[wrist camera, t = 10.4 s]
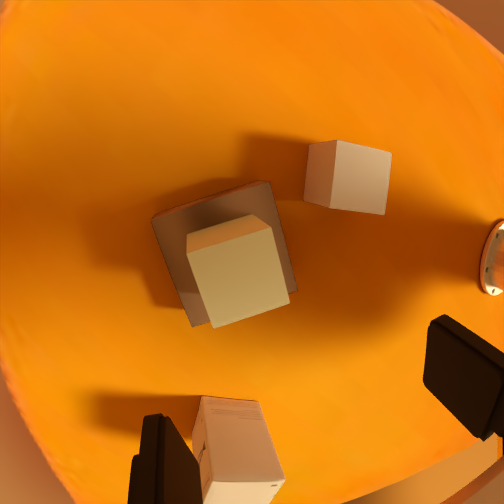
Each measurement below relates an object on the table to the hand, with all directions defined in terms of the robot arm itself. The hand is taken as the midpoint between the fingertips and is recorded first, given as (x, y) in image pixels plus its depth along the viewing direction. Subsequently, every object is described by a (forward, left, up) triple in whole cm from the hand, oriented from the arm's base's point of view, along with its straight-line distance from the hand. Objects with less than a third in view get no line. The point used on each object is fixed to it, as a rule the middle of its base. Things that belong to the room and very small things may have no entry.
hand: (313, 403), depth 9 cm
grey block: (-12, -4, -21) cm, 24 cm away
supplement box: (+6, +21, -21) cm, 31 cm away
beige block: (0, 0, -18) cm, 18 cm away
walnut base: (0, 0, -22) cm, 22 cm away
